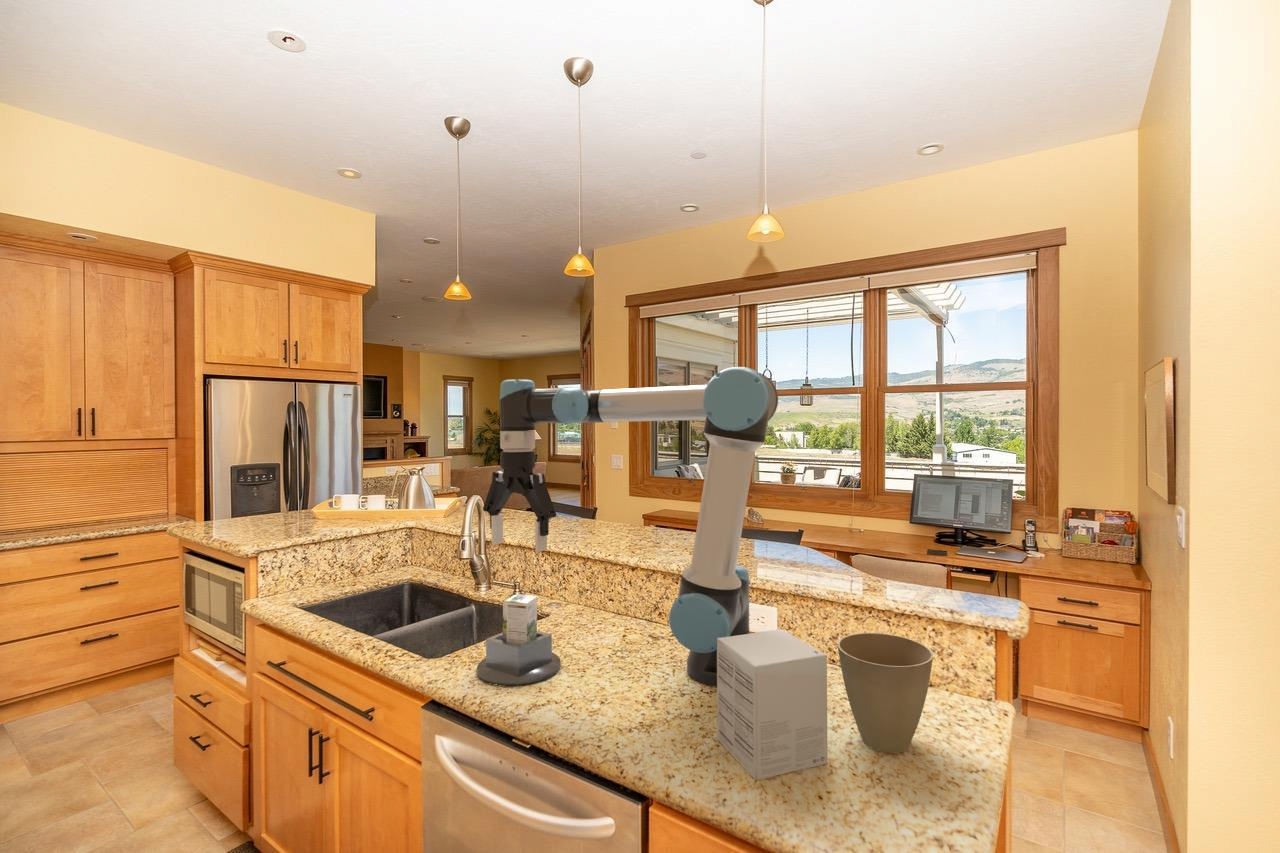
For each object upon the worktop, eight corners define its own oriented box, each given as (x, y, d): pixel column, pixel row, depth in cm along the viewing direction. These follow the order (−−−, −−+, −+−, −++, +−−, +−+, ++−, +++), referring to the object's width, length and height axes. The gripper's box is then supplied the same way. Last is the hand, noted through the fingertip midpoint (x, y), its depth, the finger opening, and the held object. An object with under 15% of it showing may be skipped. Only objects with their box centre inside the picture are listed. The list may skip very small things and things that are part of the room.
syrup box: (513, 657, 137) (512, 593, 137) (537, 659, 136) (537, 595, 136) (502, 668, 131) (501, 601, 131) (527, 670, 130) (527, 602, 130)
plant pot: (840, 714, 112) (840, 628, 112) (929, 729, 107) (929, 638, 106) (835, 756, 98) (834, 657, 98) (937, 775, 93) (937, 671, 92)
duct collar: (577, 664, 136) (577, 632, 136) (518, 694, 121) (517, 658, 121) (520, 647, 146) (520, 618, 146) (459, 672, 131) (459, 640, 131)
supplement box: (782, 725, 108) (782, 627, 108) (829, 764, 96) (829, 654, 96) (715, 739, 104) (714, 636, 103) (755, 782, 91) (755, 666, 91)
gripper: (466, 450, 137) (467, 543, 137) (547, 452, 123) (548, 557, 123) (492, 448, 143) (493, 538, 144) (572, 451, 129) (572, 550, 129)
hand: (518, 547), depth 133 cm, fingers open, 13 cm apart
